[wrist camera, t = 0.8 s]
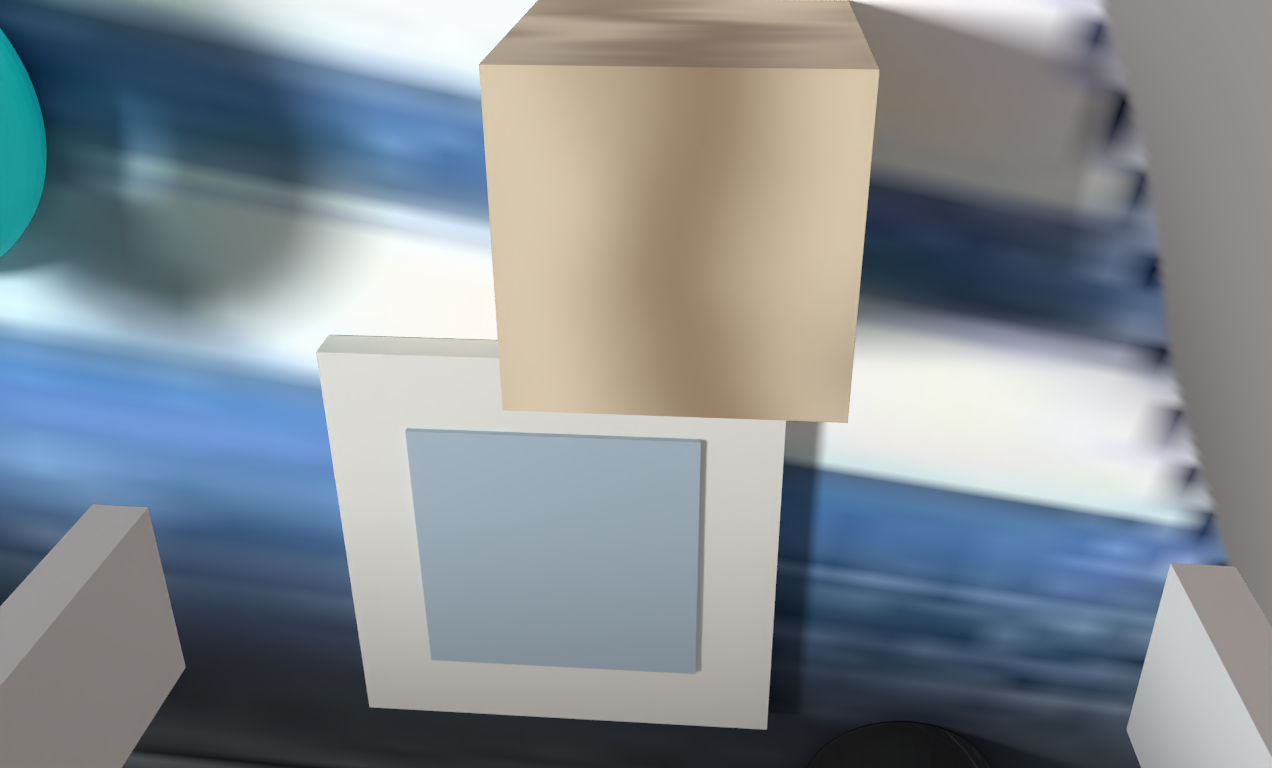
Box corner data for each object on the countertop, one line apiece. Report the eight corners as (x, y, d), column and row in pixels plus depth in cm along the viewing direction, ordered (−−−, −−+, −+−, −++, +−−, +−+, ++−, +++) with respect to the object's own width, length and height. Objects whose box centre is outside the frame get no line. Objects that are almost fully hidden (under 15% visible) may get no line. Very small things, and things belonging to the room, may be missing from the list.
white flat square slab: (378, 683, 42) (367, 711, 41) (328, 335, 36) (313, 355, 34) (766, 704, 41) (767, 733, 40) (788, 349, 34) (789, 370, 33)
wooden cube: (553, 278, 34) (502, 410, 27) (540, -3, 30) (478, 64, 23) (826, 286, 34) (847, 422, 27) (848, -1, 30) (879, 69, 23)
